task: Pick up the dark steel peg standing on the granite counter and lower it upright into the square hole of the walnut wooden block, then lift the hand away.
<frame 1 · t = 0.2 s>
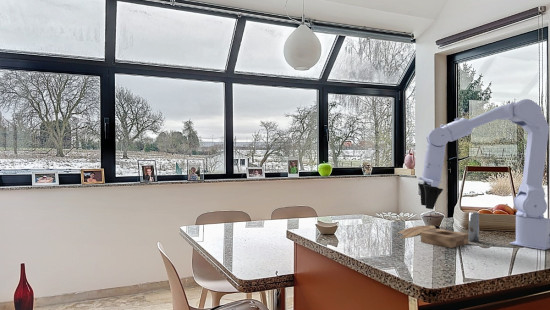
hand: (426, 207, 130), 11 cm above the kitchen island, tool pointing down, fingers open, 7 cm apart
walnut hole block: (444, 242, 125), on the kitchen island
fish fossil: (413, 233, 142), on the kitchen island
steel peg: (473, 241, 128), on the kitchen island
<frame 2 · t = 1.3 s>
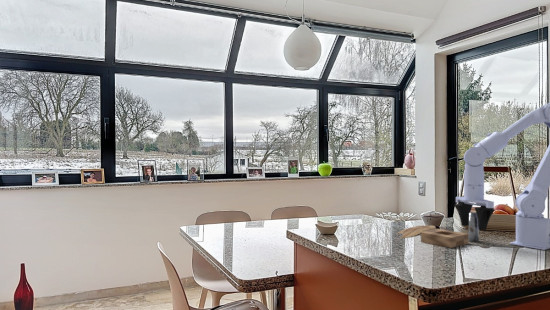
hand: (473, 227, 128), 4 cm above the kitchen island, tool pointing down, fingers open, 7 cm apart
nothing on the kitchen island moved.
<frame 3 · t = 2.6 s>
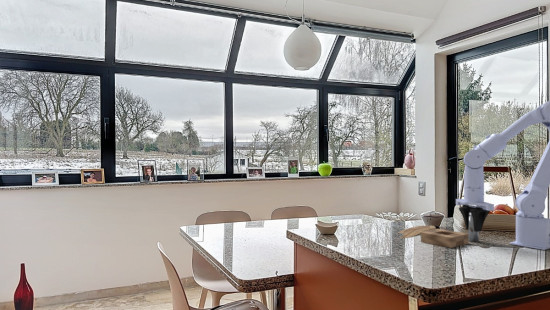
hand: (473, 230, 128), 3 cm above the kitchen island, tool pointing down, fingers closed on steel peg, 3 cm apart
steel peg: (473, 241, 128), on the kitchen island, touching gripper
everything else where it was.
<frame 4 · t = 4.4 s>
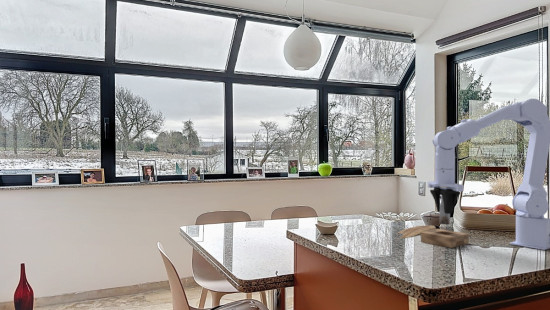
hand: (444, 212, 125), 9 cm above the kitchen island, tool pointing down, fingers closed on steel peg, 3 cm apart
steel peg: (444, 223, 125), point 6 cm above the kitchen island, touching gripper
everything else where it was.
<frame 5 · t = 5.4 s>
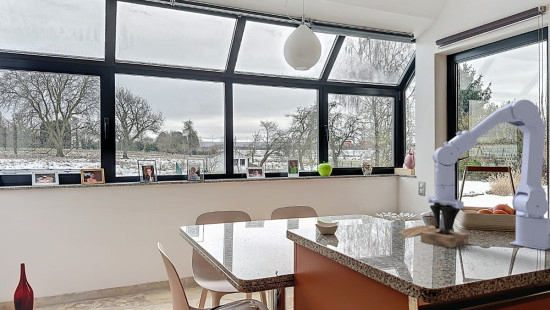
hand: (444, 228, 125), 4 cm above the kitchen island, tool pointing down, fingers closed on steel peg, 3 cm apart
steel peg: (444, 239, 125), point 1 cm above the kitchen island, touching gripper
everything else where it was.
when the fingers open (4 cm above the kitchen island, at t = 6.2 s): steel peg stays where it is, resting in walnut hole block.
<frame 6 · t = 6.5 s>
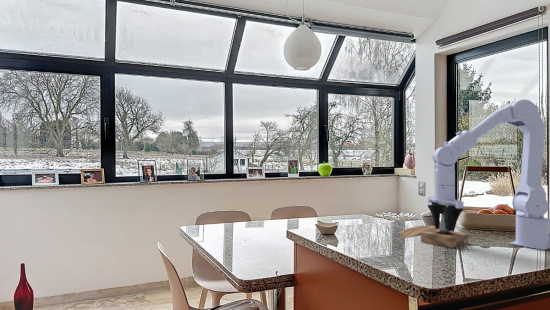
hand: (444, 228, 125), 4 cm above the kitchen island, tool pointing down, fingers open, 5 cm apart
steel peg: (444, 242, 125), resting in walnut hole block
everything else where it was.
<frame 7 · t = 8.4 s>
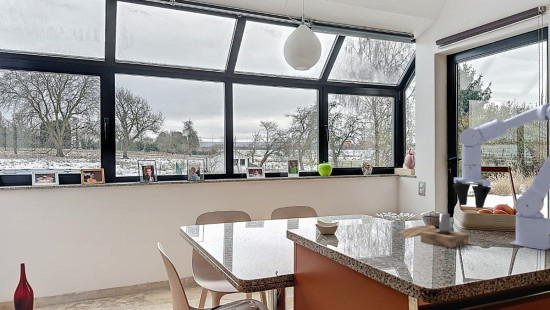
hand: (471, 206, 133), 10 cm above the kitchen island, tool pointing down, fingers open, 7 cm apart
nothing on the kitchen island moved.
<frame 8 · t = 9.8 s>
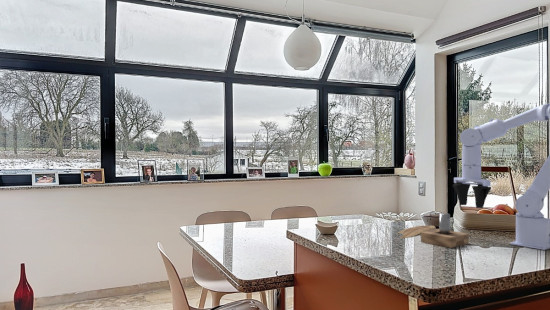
hand: (471, 206, 133), 10 cm above the kitchen island, tool pointing down, fingers open, 7 cm apart
nothing on the kitchen island moved.
at the end: steel peg 0.0 cm off-centre on the walnut hole block, point 0.0 cm above the walnut hole block's base; steel peg tilted 0°; the gripper is holding nothing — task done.
